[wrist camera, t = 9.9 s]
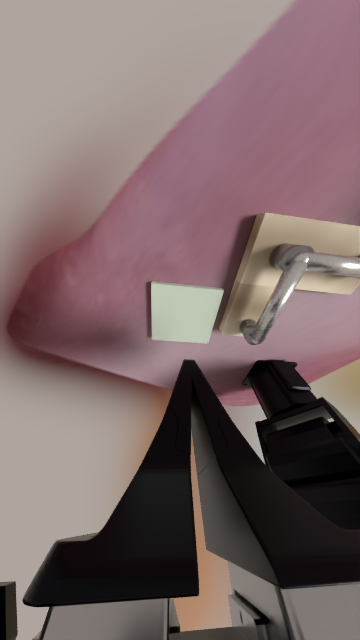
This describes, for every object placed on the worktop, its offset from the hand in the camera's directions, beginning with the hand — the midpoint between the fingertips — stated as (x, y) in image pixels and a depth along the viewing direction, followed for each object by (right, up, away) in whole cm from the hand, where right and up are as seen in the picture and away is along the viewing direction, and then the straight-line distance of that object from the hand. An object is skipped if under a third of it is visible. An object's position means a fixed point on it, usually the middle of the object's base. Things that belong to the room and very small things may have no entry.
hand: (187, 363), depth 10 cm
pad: (0, +4, +6) cm, 7 cm away
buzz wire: (+10, +6, +4) cm, 12 cm away
